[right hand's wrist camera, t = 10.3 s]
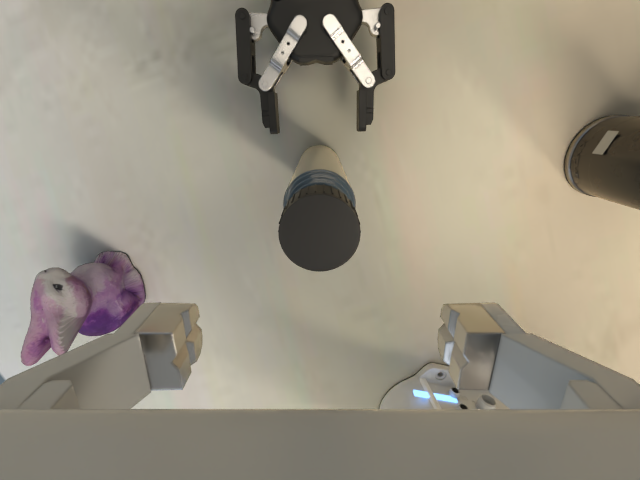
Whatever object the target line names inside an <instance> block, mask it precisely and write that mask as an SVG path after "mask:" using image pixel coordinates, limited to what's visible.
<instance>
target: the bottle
mask: <svg viewBox="0 0 640 480" xmlns="http://www.w3.org/2000/svg"><path fill="white" fill-rule="evenodd" d="M315 184H316V185H323V184H325V185H326V186H332V187H333V188H336V189H339V190H340V191H341V192H342V193H343V194H346V196H347V198H348V199H349V200H351V202H352V205H353V206H354V207H356V202H355V196H354V193H353V190H352V188H351V186H350V183H349V181H348V179H347V176H346V174H345V172H344V170H343V167H342V165H341V163H340V160H339V158H338V156H337V154H336V153H335V152H334V151H333V150H332V149H331V148H329V147H327V146H324V145H315V146H312V147H310V148H308V149H307V150H306V151H305V152H304V153H303V154H302V156H301V158H300V160H299V163H298V165H297V167H296V169H295V172H294V174H293V176H292V179H291V181H290V183H289V185H288V188H287V190H286V193H285V196H284V203H283V206H284V207H285V206H286V205H287V202H288V200H289V199H291V198H292V196H293V194H294V193H295V194H296V193H297V192H298V191H300V189H303V188H306V187H307V186H313V185H315Z"/></svg>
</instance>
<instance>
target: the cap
mask: <svg viewBox="0 0 640 480" xmlns="http://www.w3.org/2000/svg"><path fill="white" fill-rule="evenodd" d="M279 224H280V225H279V231H278V232H279V240H280V244H281V247H282V249H283V251H284V253H285V254H286V255H287V257H288V258H289V259H290V260H291V261H292V262H294V263H295V264H296V265H298V266H300V267H302V268H304V269H307V270H311V271H328V270H332V269H335V268H337V267H339V266H341V265H343V264H344V263H345V262H347V261H348V260H349V259H350V258H351V257H352V255H353V254H354V253H355V251H356V249H357V247H358V244H359V241H360V233H361V231H360V222H359V219H358V215H357V212H356V210H355V207H354V206H353V205H352V202H351V200H349V199H348V198H347V196H346V194H343V193H342V192H341V191H340V190H339V189H336V188H333V187H332V186H326V185H325V184H323V185H316V184H315V185H313V186H307V187H306V188H303V189H300V191H298V192H297V193H296V194H295V193H294V194H293V196H292V198H291V199H289V200H288V202H287V205H286V206H285V207H284V210H283V212H282V215H281V219H280V222H279Z"/></svg>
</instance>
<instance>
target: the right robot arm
mask: <svg viewBox="0 0 640 480" xmlns="http://www.w3.org/2000/svg"><path fill="white" fill-rule="evenodd" d="M199 317H200V315H199V310H198V306H197V305H196V304H194V303H143V304H141V306H140V307H139V308H138V309H137V310H136V311H135V312H134V313H133V314H132V315H131V316H130V317H129V318H128V319H127V320H126V321H125V322H124V323H123V324H122V325H121V327H120V328H119V329H118V330H117V331H116V332H115V333H114V334H106V335H104V336H102V337H100V338H97V339H95V340H93V341H91V342H88V343H86V344H84V345H82V346H80V347H77V348H75V349H73V350H71V351H68V352H66V353H64V354H62V355H60V356H57V357H55V358H53V359H51V360H48V361H46V362H44V363H42V364H40V365H37V366H35V367H33V368H31V369H28V370H26V371H24V372H22V373H19V374H17V375H15V376H13V377H11V378H8V379H7V380H6V381H5V382H3V383H2V384H1V385H0V480H640V385H639V384H638V383H637V382H636V381H634V380H633V379H631V378H629V377H627V376H625V375H622V374H620V373H618V372H616V371H614V370H611V369H609V368H607V367H605V366H603V365H600V364H598V363H596V362H594V361H591V360H589V359H587V358H585V357H583V356H580V355H578V354H576V353H574V352H571V351H569V350H567V349H565V348H563V347H560V346H558V345H556V344H554V343H551V342H549V341H547V340H545V339H543V338H540V337H538V336H536V335H534V334H526V333H525V332H524V331H523V330H522V329H521V328H520V326H519V325H518V324H517V323H516V322H515V321H514V320H513V319H512V318H511V317H510V316H509V315H508V314H507V313H506V312H505V311H504V310H503V309H502V308H501V307H500V305H499V304H497V303H460V304H443V307H442V309H441V315H440V317H441V319H442V320H443V322H444V324H443V325H442V326H441V327H440V328H439V329H438V339H437V340H438V349H439V353H440V356H441V358H442V360H443V361H444V362H445V363H447V364H448V365H449V366H446V365H441V364H436V363H430V364H427V365H426V366H424V367H423V368H422V369H421V370H420V371H419V372H418V373H417V374H416V375H414V376H413V377H411V378H409V379H406V380H404V381H402V382H400V383H399V384H397V385H396V386H394V387H393V388H392V389H391V390H390V391H389V392H388V393H387V394H386V395H385V397H384V398H383V400H382V402H381V404H380V408H379V409H131V408H132V407H133V406H135V405H136V404H137V403H138V402H139V401H141V400H142V399H143V398H144V397H146V396H147V395H148V394H149V393H151V391H152V390H183V388H184V386H185V384H186V382H187V380H188V378H189V376H190V374H191V365H192V364H194V363H195V362H196V361H197V360H198V358H199V356H200V353H201V348H202V329H201V328H200V327H199V326H198V325H197V324H196V322H197V320H198V319H199ZM440 372H441V373H440Z"/></svg>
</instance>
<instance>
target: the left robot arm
mask: <svg viewBox="0 0 640 480" xmlns="http://www.w3.org/2000/svg"><path fill="white" fill-rule="evenodd" d="M235 19H236V40H237V61H238V78H239V81H240V82H241V83H243V84H245V85H247V86H250V87H253V88H256V89H257V90H258V91H259V93H260V97H261V108H262V120H263V124H264V126H265V128H270V133H271V134H278V133H280V128H279V113H278V99H277V93H275V88H276V86H277V84H278V83H279V81H280V79H281V78H282V76H283V75H284V74H285V72H286V71H287V69H288V68H289V66H290V64H291V63H292V61H294V62H295V63H297V64H300V66H302V65H310V64H313V63H320V64H324V65H330V64H333V63H335V62H337V61H338V60H339V59H340V60H341V62H342V63H343V64H344V66H345V67H346V69H347V70H348V71H349V72H350V73H351V75H352V76H353V77H354V79H355V80H356V82H357V83H358V84H359V90H358V91H357V131H366V125H371V123H372V120H373V95H374V89H375V87H376V86H377V85H378V84H381V83H383V82H386V81H388V80H390V79H392V78H393V77H394V75H395V31H394V7H393V5H392V4H390V3H385V4H384V5H382V7H381V8H374V9H364V10H362V9H361V7H360V5H359V2H358V0H271V5H270V8H269V11H268V13H249V12H248V11H247V10H246V9H244V8H239V9H238V10H237V11H236V14H235ZM361 24H364V25H366V26H367V27H368V29H369V33H370V35H371V36H372V37H376V40H377V70H375V71H373V72H371V71H370V70H369V68H368V67H367V65H366V64H365V62H364V61H363V59H362V56H361V55H360V53H359V52H358V50H357V49H356V47H355V46H354V44H353V43H352V39H353V38H354V36H355V35H356V33H357V31H358V30H359V28H360V26H361ZM265 28H269V29H270V30H271V32H272V33H273V35H274V36H275V38H276V39H277V40H278V42H279V43H280V44H279V46H278V47H277V49H276V51H275V52H274V54H273V56H272V58H271V60H270V63H269V65H268V66H267V68H266V70H265V72H264V73H263V75H262V76H261V75H258V74H256V61H255V41H259V40H260V39H261V37H262V32H263V30H264V29H265ZM565 174H566V177H567V180H568V182H569V183H570V185H571V186H572V187H573V188H574V189H575V190H577V191H578V192H580V193H583V194H586V195H589V196H594V197H599V198H602V199H606V200H608V201H612V202H615V203H619V204H622V205H625V206H629V207H632V208H636V209H639V210H640V116H626V115H614V116H607V117H603V118H601V119H598V120H596V121H594V122H592V123H591V124H589V125H588V126H586V127H585V128H584V129H583V130H582V131H581V132H580V133H579V134H578V135H577V136H576V137H575V139H574V140H573V142H572V143H571V145H570V147H569V149H568V152H567V154H566V158H565Z"/></svg>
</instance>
